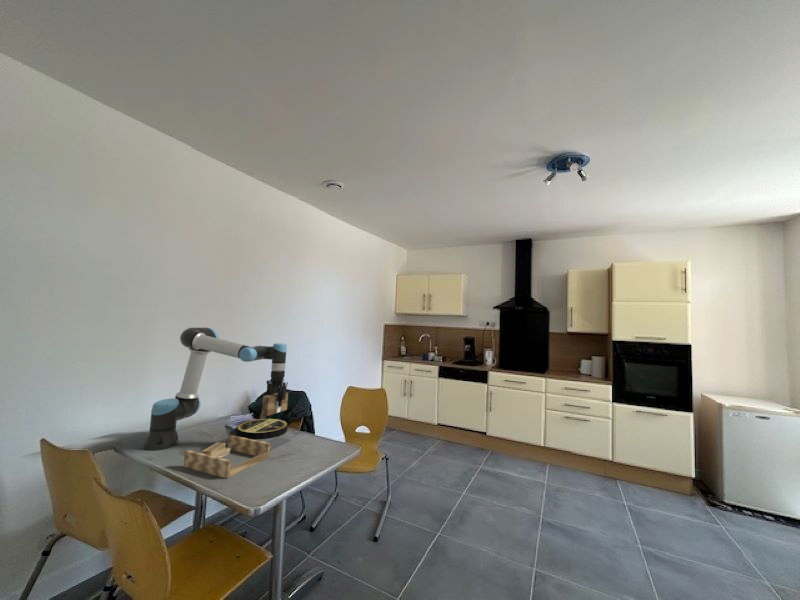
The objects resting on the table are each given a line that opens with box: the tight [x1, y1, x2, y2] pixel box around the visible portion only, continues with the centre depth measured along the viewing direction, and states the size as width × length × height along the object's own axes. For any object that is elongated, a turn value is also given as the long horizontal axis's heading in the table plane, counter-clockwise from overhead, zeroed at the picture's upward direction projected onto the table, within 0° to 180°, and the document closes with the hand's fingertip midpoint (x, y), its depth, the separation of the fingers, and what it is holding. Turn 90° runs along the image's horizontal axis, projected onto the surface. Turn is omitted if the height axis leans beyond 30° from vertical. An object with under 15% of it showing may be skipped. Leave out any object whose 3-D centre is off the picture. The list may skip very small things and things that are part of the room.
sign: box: [235, 418, 289, 441], centre depth 200 cm, size 30×4×30 cm
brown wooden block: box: [261, 391, 289, 417], centre depth 181 cm, size 4×16×10 cm, turn 160°
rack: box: [183, 434, 271, 479], centre depth 155 cm, size 27×26×7 cm
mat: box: [266, 436, 292, 451], centre depth 179 cm, size 10×20×1 cm, turn 160°
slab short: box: [201, 441, 227, 456], centre depth 158 cm, size 4×12×3 cm, turn 178°
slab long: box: [215, 446, 231, 458], centre depth 158 cm, size 4×16×3 cm, turn 162°
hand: (274, 411), depth 181 cm, fingers closed on brown wooden block, 4 cm apart
